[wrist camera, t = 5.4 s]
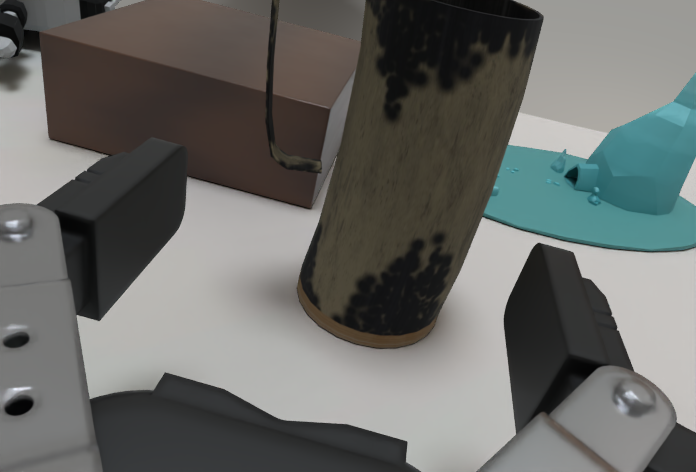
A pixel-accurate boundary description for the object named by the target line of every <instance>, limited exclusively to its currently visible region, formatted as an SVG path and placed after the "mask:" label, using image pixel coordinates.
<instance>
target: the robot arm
mask: <svg viewBox="0 0 696 472" xmlns="http://www.w3.org/2000/svg"><path fill="white" fill-rule="evenodd" d="M187 165H188V152H187V149H186V147H185V146H183V145H179V144H175V143H172V142H168V141H164V140H160V139H157V138H149V139H148V140H147V141H145V142H144V143H143V144H141V145H140V146H139V147H137V148H136V149H135V150H133V151H132V152H131V153H126V152H122V153H118V154H115V155H112V156H108V157H105V158H102V159H101V160H99V161H98V162H96V163H95V164H94V165H92V166H91V167H89V168H88V169H87V171H84V172H82V173H81V174H80V175H78V176H77V177H75V180H71V181H70V182H68V183H67V184H65V185H64V186H63V187H61V188H60V189H58V190H57V191H56V192H54V193H53V194H51V195H50V196H49V197H47V198H46V199H44V200H43V201H41V202H40V203H39V204H37V205H33V204H22V203H16V204H4V205H0V472H421V471H419V470H418V469H416V468H415V467H413V466H412V465H410V464H408V463H406V452H407V441H404V440H400V439H397V438H393V437H390V436H386V435H383V434H379V433H376V432H372V431H369V430H365V429H362V428H358V427H354V426H351V425H347V424H332V423H315V422H299V421H285V420H281V419H278V418H276V417H274V416H272V415H270V414H268V413H266V412H265V411H263V410H261V409H259V408H257V407H255V406H254V405H252V404H250V403H248V402H246V401H244V400H243V399H241V398H239V397H237V396H235V395H234V394H232V393H230V392H228V391H226V390H224V389H221V388H218V387H214V386H211V385H207V384H204V383H200V382H197V381H193V380H190V379H186V378H183V377H179V376H176V375H172V374H169V373H165V374H164V375H163V377H162V378H161V380H160V381H159V383H158V385H157V386H156V388H155V389H154V390H137V391H125V392H117V393H112V394H108V395H103V396H99V397H96V398H93V399H89V393H88V386H87V380H86V374H85V368H84V361H83V355H82V349H81V343H80V336H79V330H78V324H77V317H76V315H80V316H83V317H87V318H90V319H94V320H97V321H100V320H101V319H102V317H103V316H104V315H105V314H106V313H107V312H108V310H109V309H110V308H111V307H112V306H113V305H114V303H115V302H116V301H117V300H118V299H119V298H120V297H121V295H122V294H123V293H124V292H125V291H126V290H127V288H128V287H129V286H130V285H131V284H132V283H133V281H134V280H135V279H136V278H137V277H138V276H139V275H140V273H141V272H142V271H143V270H144V269H145V268H146V266H147V265H148V264H149V263H150V262H151V261H152V259H153V258H154V257H155V256H156V255H157V254H158V253H159V251H160V250H161V249H162V248H163V247H164V246H165V244H166V243H167V242H168V241H169V240H170V239H171V237H172V236H173V235H174V234H175V233H176V231H177V230H178V228H179V226H180V224H181V222H182V219H183V216H184V211H185V201H186V183H187ZM611 315H612V312H611V309H610V307H609V304H608V302H607V299H606V297H605V295H604V294H603V293H602V292H601V291H600V290H599V289H598V288H597V286H596V285H595V284H594V283H593V282H592V281H591V280H590V279H586V278H582V276H581V273H580V270H579V267H578V264H577V261H576V258H575V255H574V253H573V252H571V251H567V250H564V249H560V248H556V247H553V246H549V245H545V244H541V243H537V244H536V245H535V246H534V247H533V249H532V251H531V252H530V254H529V257H528V259H527V261H526V263H525V265H524V267H523V269H522V271H521V273H520V275H519V277H518V280H517V282H516V284H515V286H514V288H513V290H512V292H511V294H510V296H509V299H508V302H507V305H506V309H505V314H504V330H505V339H506V348H507V357H508V366H509V374H510V383H511V392H512V401H513V410H514V419H515V428H516V435H515V436H514V437H513V438H512V439H511V440H510V441H509V442H508V443H507V444H506V445H505V446H504V447H502V448H501V449H500V450H499V451H498V452H497V453H496V454H495V455H494V456H493V457H492V458H491V459H490V460H489V461H487V462H486V463H485V464H484V465H483V466H482V467H481V468H480V469H479V470H478V471H477V472H696V433H695V432H693V431H691V430H689V429H687V428H686V427H684V426H682V425H680V424H678V423H677V422H676V420H677V417H676V412H675V409H674V407H673V405H672V403H671V402H670V400H669V399H668V397H667V396H666V395H665V394H664V393H663V392H662V391H661V390H660V389H659V388H658V387H657V386H656V385H655V384H653V383H652V382H651V381H649V380H648V379H646V378H645V377H643V376H642V375H640V374H638V373H636V372H634V370H633V367H632V364H631V362H630V359H629V357H628V354H627V351H626V349H625V346H624V343H623V341H622V338H621V336H620V333H619V331H617V325H616V323H615V320H614V317H612V316H611Z"/></svg>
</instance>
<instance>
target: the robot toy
mask: <svg viewBox="0 0 696 472" xmlns="http://www.w3.org/2000/svg"><path fill="white" fill-rule="evenodd" d="M119 1H120V0H0V58H11V57H15V56H18V55H19V52H20V50H21V47H22V45H23V37H24V30H23V29H26V30H33V31H44V30H48V29H51V28H54V27H58V26H61V25H64V24H68V23H71V22H74V21H78V20H81V19H85V18H88V17H91V16H95V15H98V14H101V13H105V12H108V11H112V10H115V6H116V5H117V4H118V3H119Z"/></svg>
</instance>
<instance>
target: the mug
mask: <svg viewBox="0 0 696 472" xmlns="http://www.w3.org/2000/svg"><path fill="white" fill-rule="evenodd" d="M278 9H279V0H272V8H271V19H270V31H269V43H268V55H267V72H266V108H265V123H266V129H267V136H268V142H269V149H270V155H271V157H272V158H273V159H274V160H275V161H276V162H277V163H278V164H279V165H281V166H282V167H284V168H285V169H287V170H295V171H303V172H311V173H319V174H321V173H322V162H321V160H317V159H311V158H305V157H299V156H293V155H288V154H286V153H285V152H284V151H282V150H281V149H280V148H279V147H278V146H277V145H276V143H275V135H274V126H273V118H272V101H273V74H274V54H275V43H276V32H277V21H278ZM542 23H543V15H542V14H540V13H539V12H538V11H536V10H534V9H532V8H530V7H528V6H526V5H523V4H521V3H518V2H516V1H513V0H366V4H365V12H364V22H363V29H362V38H361V46H360V52H359V57H358V62H357V67H356V71H355V76H354V81H353V86H352V91H351V96H350V101H349V106H348V111H347V116H346V120H345V125H344V130H343V135H342V140H341V144H340V148H339V152H338V155H337V159H336V162H335V166H334V170H333V173H332V177H331V180H330V184H329V187H328V191H327V195H326V198H325V202H324V205H323V209H322V213H321V216H320V220H319V223H318V225H317V228H316V231H315V233H314V236H313V238H312V241H311V244H310V246H309V249H308V252H307V254H306V257H305V259H304V262H303V265H302V268H301V272H300V275H299V280H298V285H297V291H298V296H299V301H300V303H301V304H302V306H303V307H304V309H305V311H306V312H307V314H308V315H309V316H310V317H311V318H312V319H313V320H314V321H315V322H316V323H317V324H318V325H319V326H321V327H322V328H324V329H326V330H327V331H329V332H330V333H332V334H334V335H335V336H337V337H340V338H342V339H345V340H347V341H350V342H353V343H355V344H359V345H365V346H370V347H376V348H397V347H401V346H405V345H409V344H413V343H415V342H417V341H419V340H420V339H422V338H424V337H426V336H427V334H428V333H429V332H430V331H431V330H432V328H433V327H434V325H435V322H436V319H437V316H438V314H439V312H440V310H441V308H442V306H443V304H444V302H445V300H446V298H447V296H448V294H449V292H450V290H451V288H452V286H453V284H454V282H455V280H456V278H457V276H458V274H459V272H460V270H461V268H462V265H463V263H464V260H465V258H466V255H467V253H468V250H469V248H470V246H471V243H472V241H473V238H474V236H475V233H476V231H477V228H478V226H479V223H480V221H481V218H482V216H483V213H484V211H485V208H486V206H487V203H488V201H489V199H490V196H491V194H492V191H493V188H494V185H495V182H496V179H497V176H498V173H499V170H500V167H501V164H502V161H503V158H504V155H505V152H506V149H507V146H508V142H509V139H510V136H511V133H512V130H513V127H514V124H515V121H516V118H517V115H518V112H519V109H520V106H521V103H522V100H523V97H524V93H525V89H526V85H527V82H528V78H529V74H530V70H531V66H532V62H533V58H534V54H535V50H536V46H537V42H538V38H539V34H540V31H541V26H542Z"/></svg>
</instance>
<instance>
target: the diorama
mask: <svg viewBox="0 0 696 472" xmlns="http://www.w3.org/2000/svg"><path fill="white" fill-rule="evenodd" d="M695 157H696V73H695V74H694V75H693V77H692V78H691V79H690V81H689V82H688V83H687V85H686V86H685V87H684V88H683V90H682V91H681V92H680V94H679V95H678V96H677V98H676V99H675V100H674V101H673V102H671V103H669V104H667V105H665V106H663V107H661V108H659V109H657V110H655V111H652V112H650V113H649V114H646V115H644V116H642V117H640V118H638V119H636V120H634V121H631V122H629V123H627V124H625V125H623V126H620V127H617V128H615V129H613V130H611V131H610V132H609V134H608V135H607V136H606V137H605V139H604V140H603V141H602V142H601V144H600V145H599V146H598V147H597V149H596V150H595V151H594V152H593V154H592V155H591V156H590V157H589V159H584V158H580V157H576V156H572V155H568V154H566V149H565V150H564V151H563V152H562V153H559V152H553V151H546V150H540V149H533V148H527V147H519V146H512V145H508V146H507V149H506V152H505V155H504V158H503V161H502V164H501V167H500V170H499V173H498V176H497V179H496V182H495V185H494V188H493V191H492V194H491V196H490V199H489V201H488V203H487V206H486V208H485V211H484V213H483V216H485V217H487V218H490V219H493V220H496V221H499V222H502V223H505V224H507V225H510V226H513V227H516V228H520V229H523V230H527V231H531V232H535V233H539V234H543V235H546V236H550V237H554V238H558V239H562V240H567V241H572V242H578V243H584V244H589V245H595V246H601V247H606V248H615V249H626V250H638V251H650V252H651V251H676V250H685V249H689V248H693V247H696V206H694V205H693V204H691V203H690V202H689V201H687V200H686V199H684V198H682V197H681V196H679V193H680V191H681V188H682V186H683V184H684V181H685V179H686V177H687V175H688V173H689V170H690V168H691V166H692V164H693V162H694V159H695Z"/></svg>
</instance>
